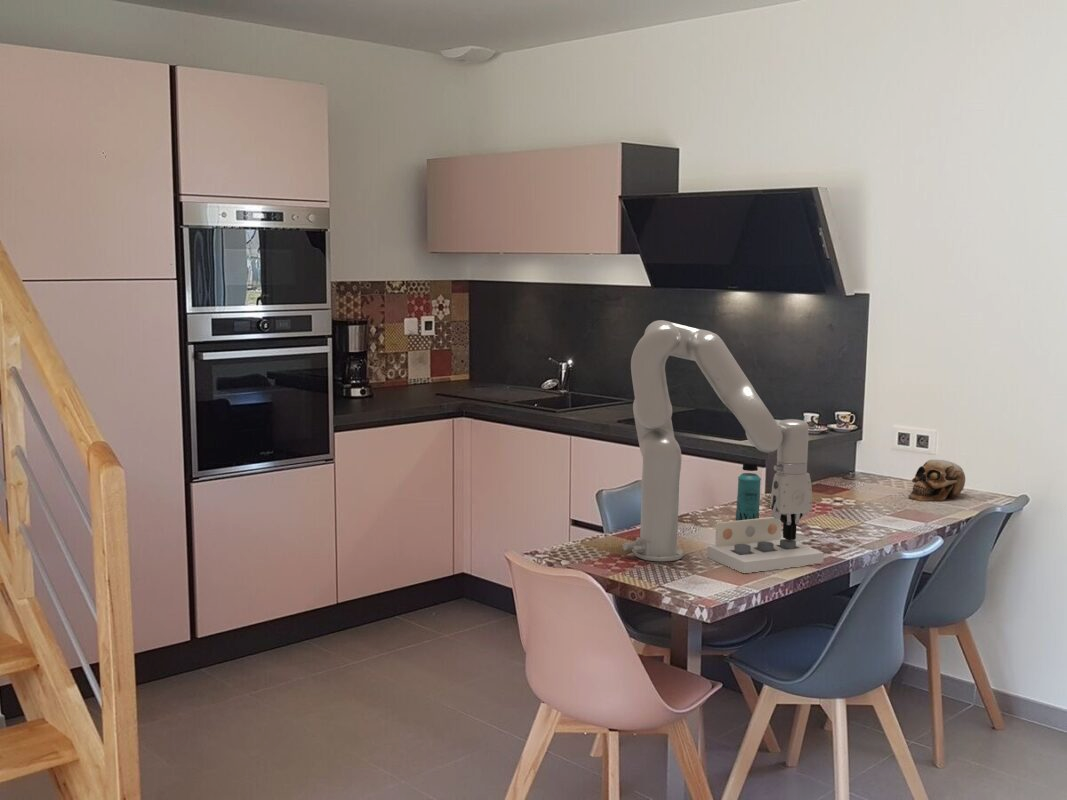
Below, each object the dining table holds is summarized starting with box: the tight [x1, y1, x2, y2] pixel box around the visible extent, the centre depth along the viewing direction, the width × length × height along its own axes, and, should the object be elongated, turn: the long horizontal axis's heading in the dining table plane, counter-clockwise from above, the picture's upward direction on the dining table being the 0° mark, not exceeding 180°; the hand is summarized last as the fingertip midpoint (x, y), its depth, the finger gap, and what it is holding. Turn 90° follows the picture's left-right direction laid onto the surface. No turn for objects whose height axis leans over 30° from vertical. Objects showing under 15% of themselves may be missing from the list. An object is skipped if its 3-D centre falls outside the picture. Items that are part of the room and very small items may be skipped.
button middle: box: [757, 541, 774, 552], centre depth 272 cm, size 4×4×3 cm
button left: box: [734, 544, 751, 555], centre depth 270 cm, size 4×4×3 cm
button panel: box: [706, 516, 825, 574], centre depth 272 cm, size 24×16×9 cm, turn 114°
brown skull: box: [907, 459, 966, 502], centre depth 351 cm, size 16×17×13 cm
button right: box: [780, 539, 797, 550], centre depth 275 cm, size 4×4×3 cm
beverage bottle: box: [734, 461, 762, 521], centre depth 300 cm, size 6×7×20 cm
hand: (789, 538), depth 275 cm, fingers closed
